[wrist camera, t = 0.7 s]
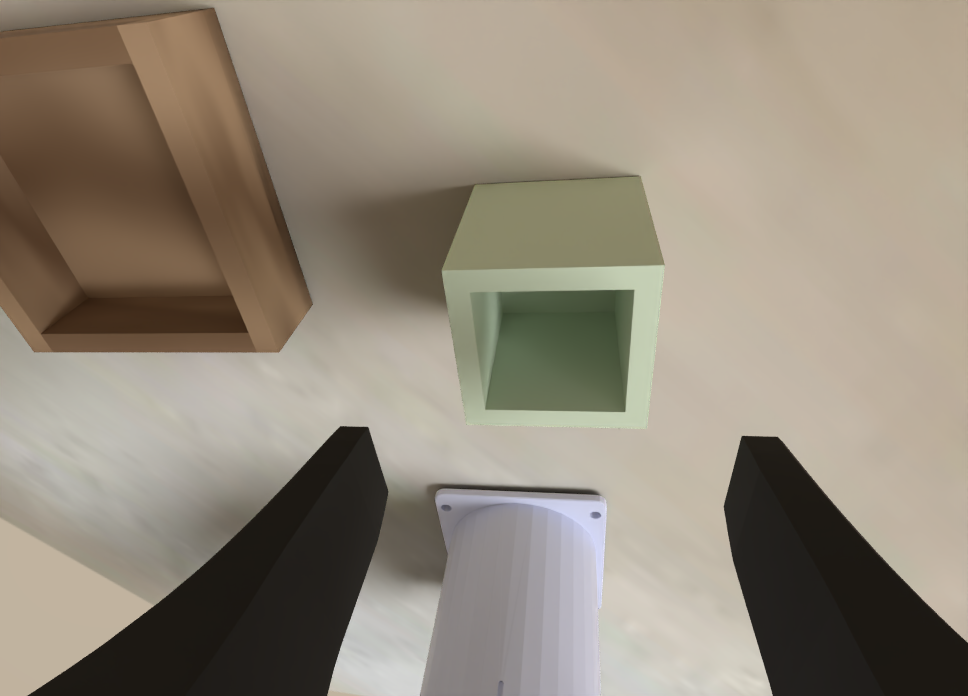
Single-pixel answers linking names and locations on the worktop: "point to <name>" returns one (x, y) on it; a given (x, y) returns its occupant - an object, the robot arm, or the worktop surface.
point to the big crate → (138, 193)
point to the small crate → (555, 303)
